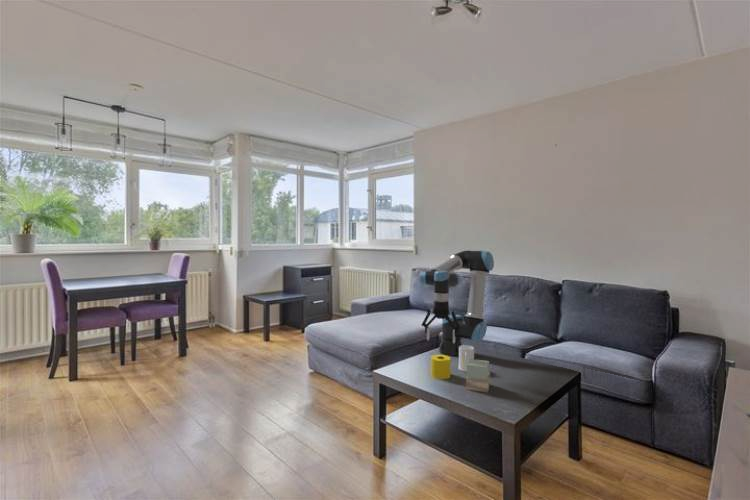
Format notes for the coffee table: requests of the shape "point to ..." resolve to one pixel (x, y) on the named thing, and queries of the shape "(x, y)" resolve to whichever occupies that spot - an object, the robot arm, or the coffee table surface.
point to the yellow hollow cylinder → (440, 366)
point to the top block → (478, 369)
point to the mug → (465, 356)
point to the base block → (478, 384)
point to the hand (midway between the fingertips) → (440, 341)
